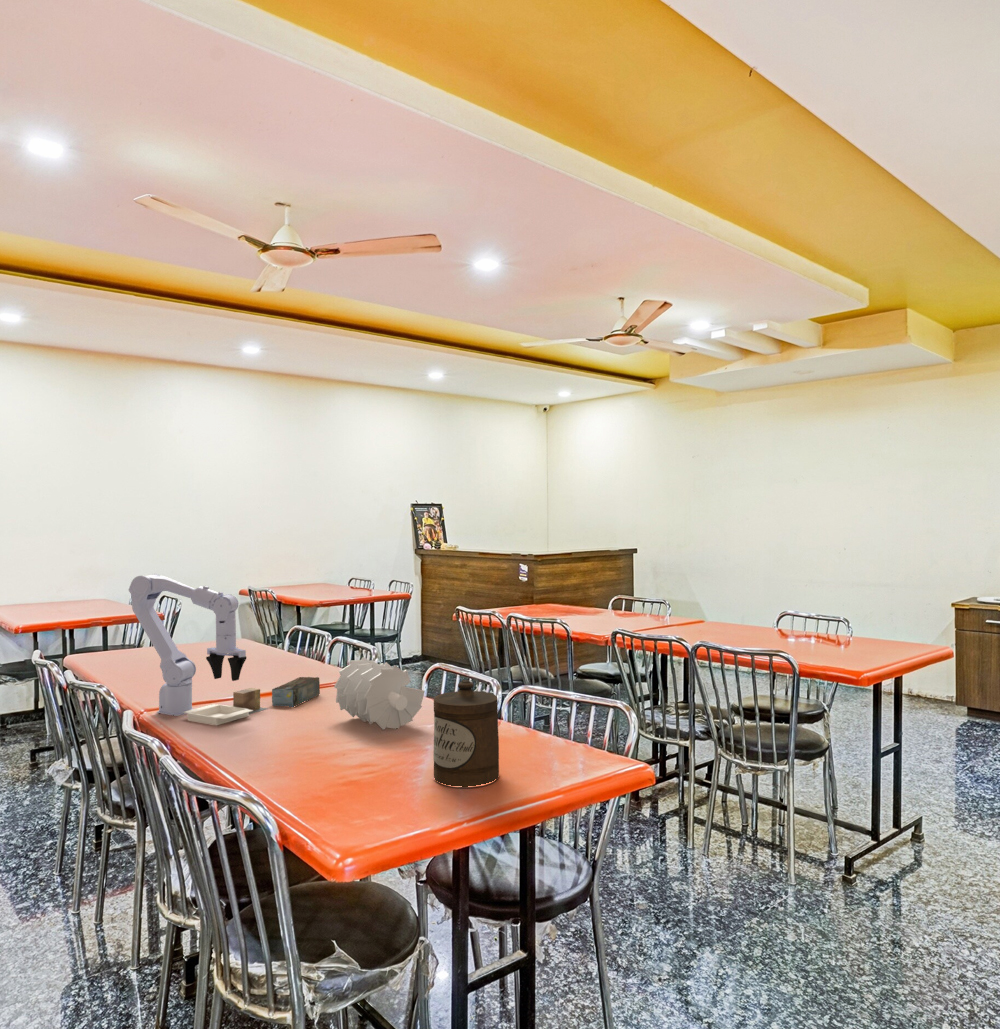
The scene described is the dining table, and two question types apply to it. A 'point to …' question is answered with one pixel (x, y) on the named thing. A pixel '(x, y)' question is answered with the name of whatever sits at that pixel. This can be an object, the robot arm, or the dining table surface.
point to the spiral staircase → (377, 693)
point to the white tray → (216, 714)
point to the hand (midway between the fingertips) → (226, 679)
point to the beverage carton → (296, 691)
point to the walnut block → (247, 699)
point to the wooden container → (466, 737)
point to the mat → (258, 710)
